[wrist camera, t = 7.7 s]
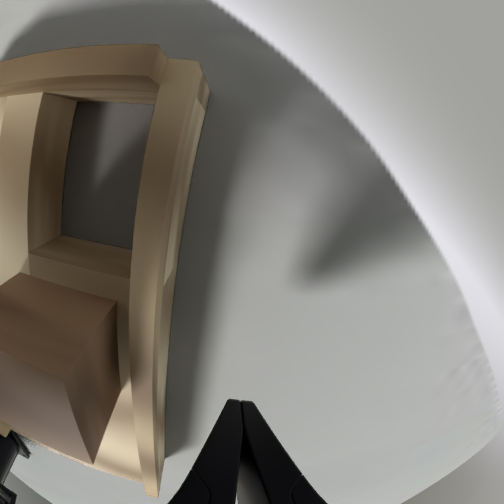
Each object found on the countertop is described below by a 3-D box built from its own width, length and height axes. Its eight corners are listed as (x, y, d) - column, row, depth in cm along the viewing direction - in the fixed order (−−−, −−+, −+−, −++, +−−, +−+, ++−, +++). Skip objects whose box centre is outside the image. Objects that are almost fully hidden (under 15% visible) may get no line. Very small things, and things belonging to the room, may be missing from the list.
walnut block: (121, 390, 10) (93, 465, 6) (36, 360, 10) (-5, 416, 6) (116, 300, 9) (62, 378, 5) (19, 271, 8) (-46, 321, 4)
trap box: (164, 459, 16) (156, 509, 11) (16, 405, 14) (-7, 441, 10) (210, 91, 9) (192, 47, 5) (-19, 95, 8) (-77, 92, 3)
